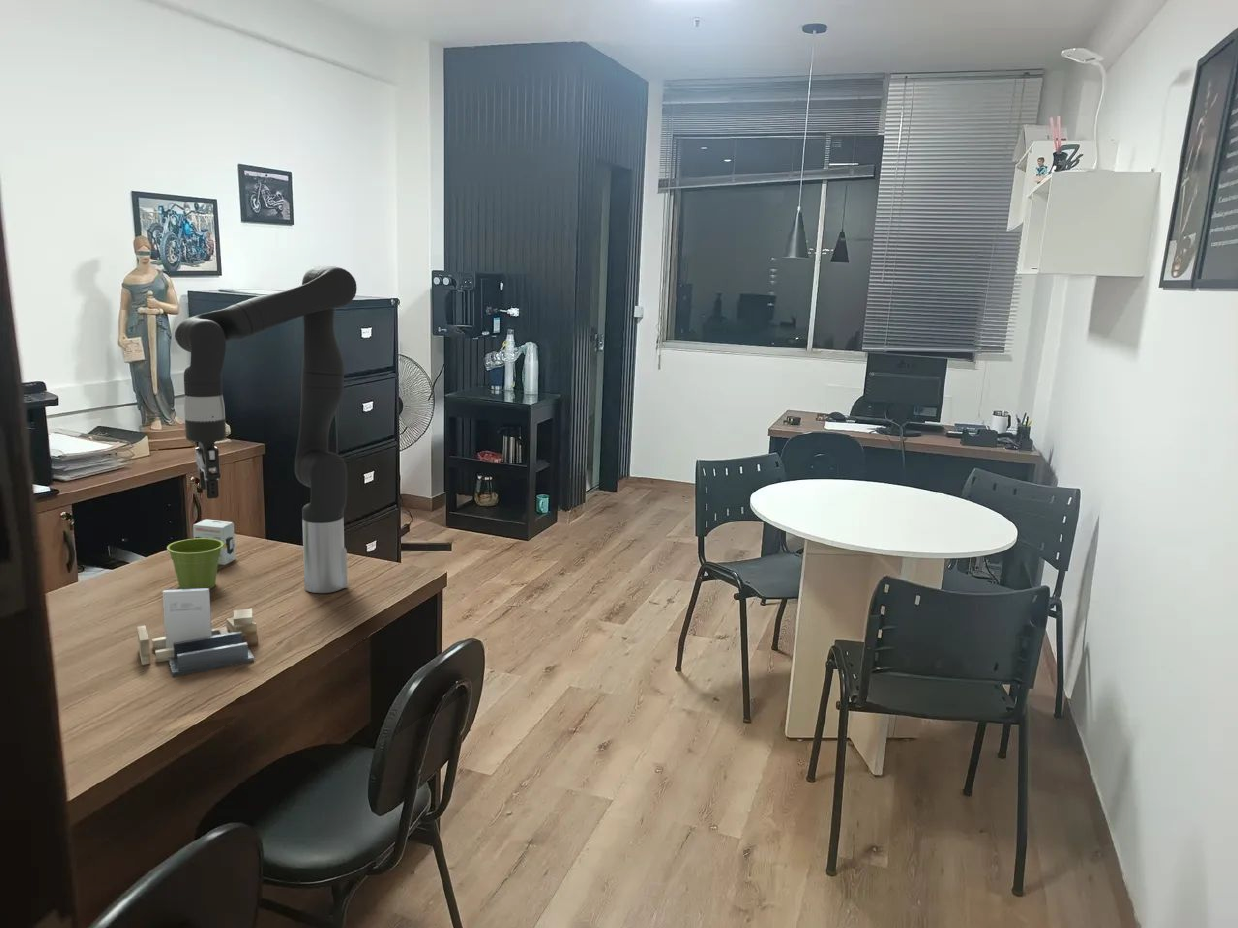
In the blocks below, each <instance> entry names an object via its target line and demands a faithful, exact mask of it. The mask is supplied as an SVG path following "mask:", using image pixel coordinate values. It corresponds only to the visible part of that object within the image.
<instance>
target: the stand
mask: <svg viewBox="0 0 1238 928" xmlns="http://www.w3.org/2000/svg"><path fill="white" fill-rule="evenodd" d="M173 646H174V657H171V658H168V665H169V668H170V672H171V675H172V677H178V676H184V675H190V674H195V673H200V672H205V671H210V670H215V669H220V668H221V669H222V668H227V667H232V666H236V665H237V666H238V665H242V664H249V663H253V662H255V657H254V655H253V653H252V652H251V649H250V648H249V647H250V646H248V645H247V642H244V643H242V632H241V631H239V632H233V633H227V634H221V635H215V636H209V637H203V638H197V639H191V640H185V641H179V642H173Z"/></svg>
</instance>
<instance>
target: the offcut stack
mask: <svg viewBox="0 0 1238 928" xmlns="http://www.w3.org/2000/svg"><path fill="white" fill-rule="evenodd" d="M226 628H227V630H228V633H233V632H239V631H241V632H242V643H244V642H247V645H248V647H250V646H256V645H259V634H258V633H257V632H258V629H257V628H258V627H257V623H256V622H255V621H254V620H253V607H251V608H243V609H234V610H233V617H228V618H226Z"/></svg>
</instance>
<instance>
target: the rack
mask: <svg viewBox="0 0 1238 928" xmlns="http://www.w3.org/2000/svg"><path fill="white" fill-rule="evenodd" d="M136 629H137V643H138V645H137V646H138V654H139V658H140V663H141V665H142V666H144V665H151V653H150V639H149V635H148V631H147V627H146V625H139V626H137V627H136ZM211 629H212V636H215V635H221V634H227V633H228V629H227V626H224V627H217V628H215V627H214V628H211ZM151 640H152V641H151V642H152V644H151V646H152V651H154V653H155V662H156V663H160V662H162V663H163V662H167V661H168V662H169V660H168V658H171V657H174V647H172V648H166V638H165V636H161V637H156V638H155V637H154V638H151Z"/></svg>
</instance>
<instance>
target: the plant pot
mask: <svg viewBox="0 0 1238 928" xmlns="http://www.w3.org/2000/svg"><path fill="white" fill-rule="evenodd" d="M223 545H224V543H223V542H222V541H220V540H217V539H210V538H196V539H194V538H188V539H183V540H178V541H174V542H172V543H169V544H168V545H167V546H166V550H167V551H168V552H169V554H170V558H171V560H172V562H173V567H174V571H175V574H176V578H177V583H178V589H195V588H209V590H210V589H212V588H214V587H215V585H216V580H217V573H218V567H219V564H218V560H219V556H220V552H221V548H222V547H223Z"/></svg>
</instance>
